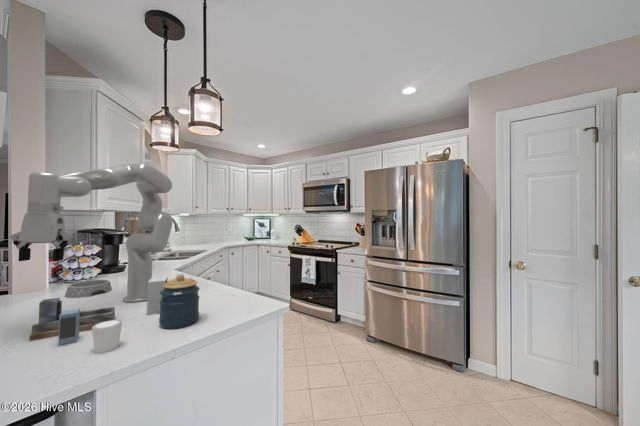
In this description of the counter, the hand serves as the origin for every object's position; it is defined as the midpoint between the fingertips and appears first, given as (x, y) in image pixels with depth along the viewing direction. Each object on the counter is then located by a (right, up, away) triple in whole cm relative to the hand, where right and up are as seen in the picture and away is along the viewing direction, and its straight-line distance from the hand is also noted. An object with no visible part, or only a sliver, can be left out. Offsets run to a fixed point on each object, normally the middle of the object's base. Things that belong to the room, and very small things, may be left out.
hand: (41, 260), depth 85 cm
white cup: (+30, -24, -10) cm, 40 cm away
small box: (+25, -25, +21) cm, 41 cm away
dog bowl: (-26, -26, +46) cm, 59 cm away
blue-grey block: (+15, -24, -6) cm, 29 cm away
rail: (+8, -24, +4) cm, 26 cm away
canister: (+41, -25, +9) cm, 49 cm away
